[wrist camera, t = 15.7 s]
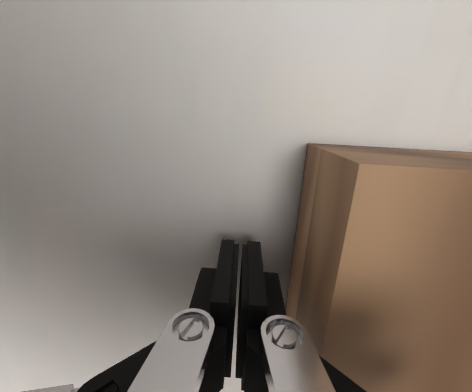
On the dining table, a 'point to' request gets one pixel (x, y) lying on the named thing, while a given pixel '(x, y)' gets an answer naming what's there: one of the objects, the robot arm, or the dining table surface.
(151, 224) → the dining table surface
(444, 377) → the holder block
